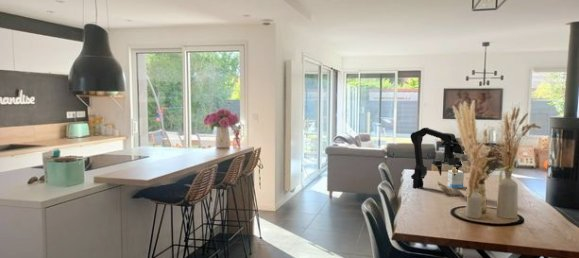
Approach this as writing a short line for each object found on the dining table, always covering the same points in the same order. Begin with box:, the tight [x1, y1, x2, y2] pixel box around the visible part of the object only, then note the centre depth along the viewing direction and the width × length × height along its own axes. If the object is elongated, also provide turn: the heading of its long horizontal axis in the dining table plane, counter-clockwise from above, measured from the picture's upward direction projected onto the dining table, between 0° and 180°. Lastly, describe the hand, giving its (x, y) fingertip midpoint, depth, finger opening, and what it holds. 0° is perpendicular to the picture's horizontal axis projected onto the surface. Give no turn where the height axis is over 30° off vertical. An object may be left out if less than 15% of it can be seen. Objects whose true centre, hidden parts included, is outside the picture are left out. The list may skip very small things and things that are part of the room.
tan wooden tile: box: [449, 187, 464, 198], centre depth 273 cm, size 6×18×1 cm, turn 168°
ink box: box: [447, 169, 465, 189], centre depth 292 cm, size 9×8×13 cm
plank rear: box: [436, 181, 451, 191], centre depth 280 cm, size 9×7×1 cm
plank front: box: [438, 185, 454, 197], centre depth 269 cm, size 9×7×1 cm
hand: (447, 175), depth 270 cm, fingers open, 9 cm apart
